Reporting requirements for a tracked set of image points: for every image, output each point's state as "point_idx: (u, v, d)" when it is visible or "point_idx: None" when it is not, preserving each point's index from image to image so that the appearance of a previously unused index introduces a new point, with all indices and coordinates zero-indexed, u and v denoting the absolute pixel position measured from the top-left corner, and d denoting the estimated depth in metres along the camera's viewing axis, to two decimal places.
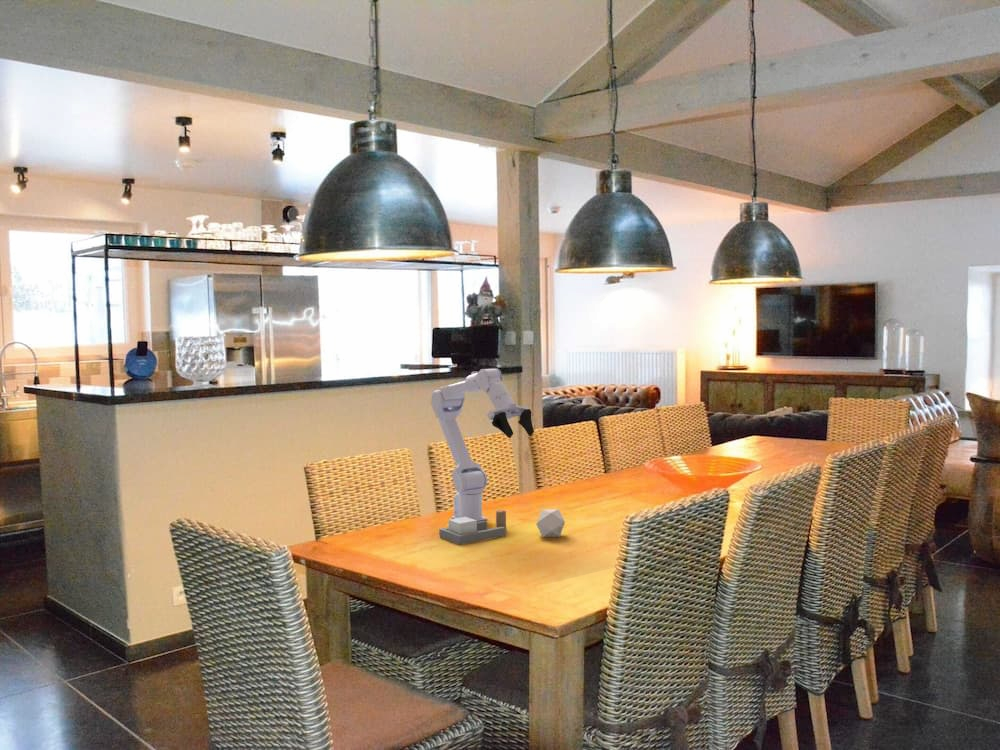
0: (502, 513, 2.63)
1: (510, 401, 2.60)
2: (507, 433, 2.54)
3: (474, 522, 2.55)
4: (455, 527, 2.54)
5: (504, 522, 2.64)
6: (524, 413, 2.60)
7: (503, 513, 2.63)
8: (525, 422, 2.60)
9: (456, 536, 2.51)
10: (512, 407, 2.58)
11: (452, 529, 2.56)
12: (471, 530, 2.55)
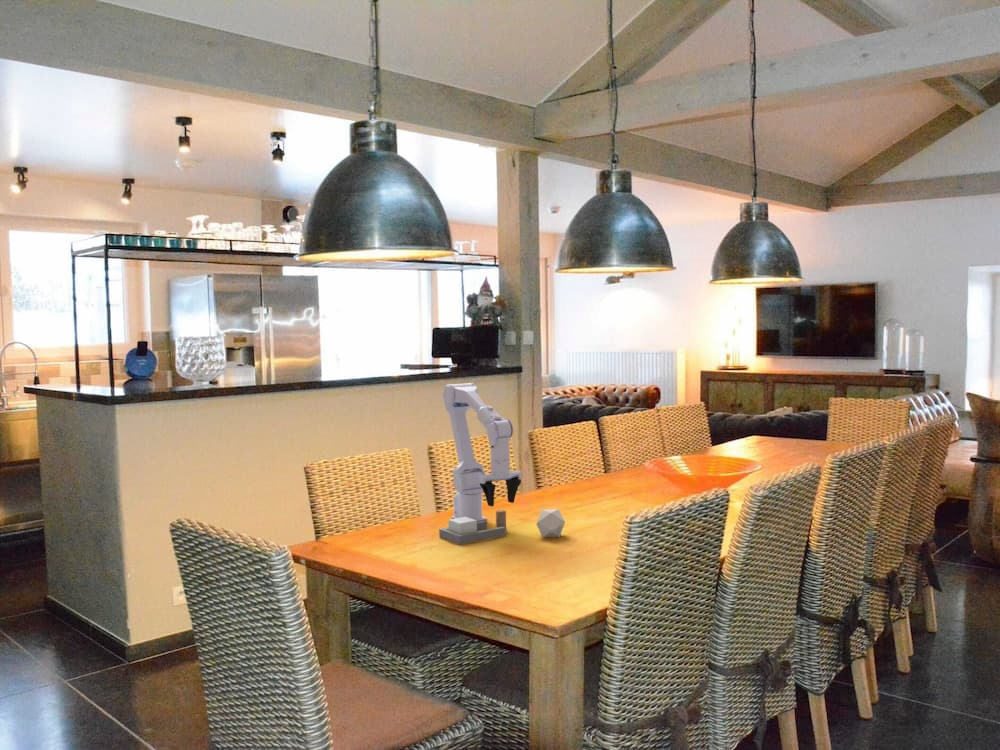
0: (502, 513, 2.63)
1: (506, 470, 2.62)
2: (488, 501, 2.62)
3: (474, 522, 2.55)
4: (455, 527, 2.54)
5: (504, 522, 2.64)
6: (513, 482, 2.65)
7: (503, 513, 2.63)
8: (510, 488, 2.66)
9: (456, 536, 2.51)
10: None
11: (452, 529, 2.56)
12: (471, 530, 2.55)
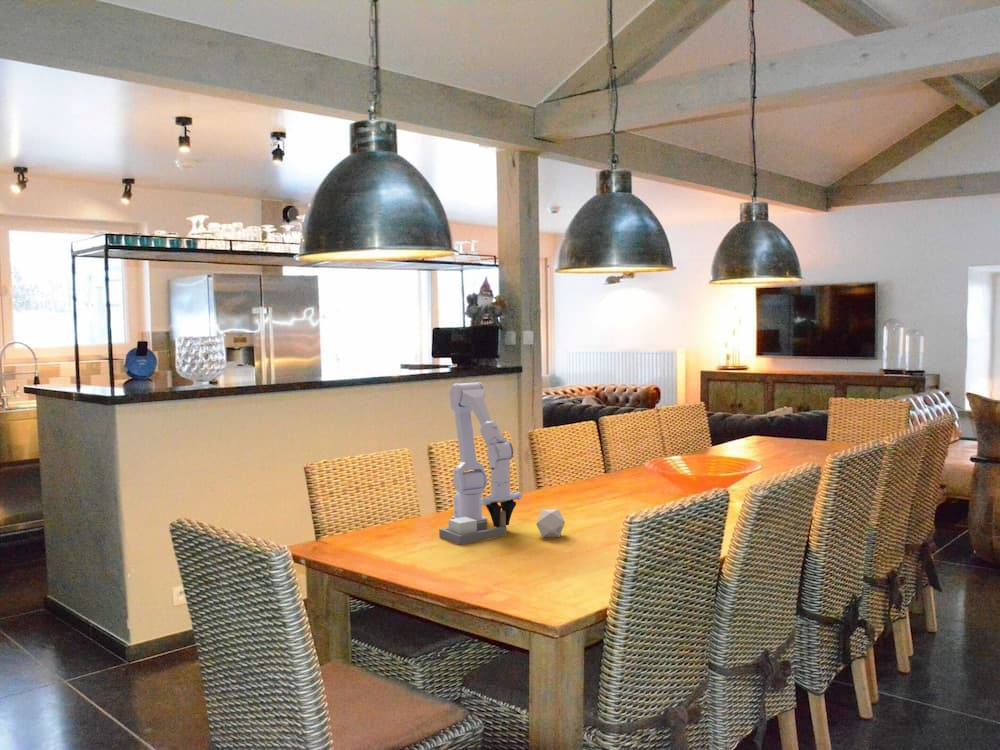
0: (502, 513, 2.63)
1: (506, 492, 2.62)
2: (494, 522, 2.64)
3: (474, 522, 2.55)
4: (455, 527, 2.54)
5: (504, 522, 2.64)
6: (508, 505, 2.64)
7: (503, 513, 2.63)
8: None
9: (456, 536, 2.51)
10: None
11: (452, 529, 2.56)
12: (471, 530, 2.55)
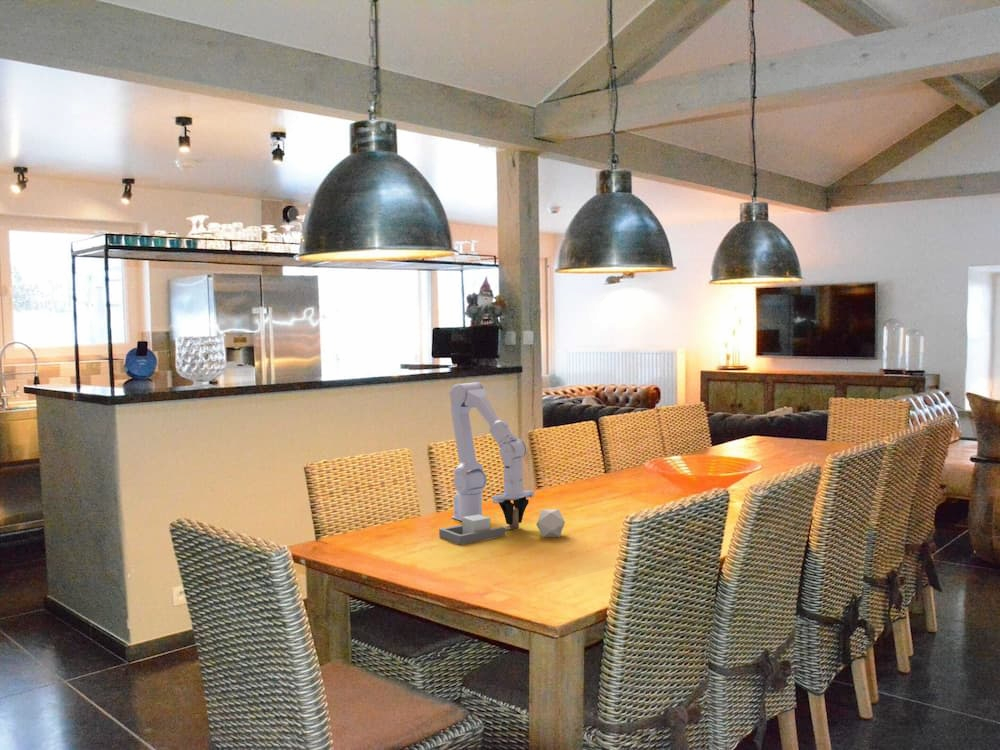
0: (515, 511, 2.66)
1: (519, 490, 2.65)
2: (507, 520, 2.67)
3: (488, 519, 2.58)
4: (469, 524, 2.57)
5: (517, 520, 2.67)
6: (521, 503, 2.67)
7: (516, 511, 2.66)
8: None
9: (456, 536, 2.51)
10: None
11: (465, 526, 2.59)
12: (485, 527, 2.58)
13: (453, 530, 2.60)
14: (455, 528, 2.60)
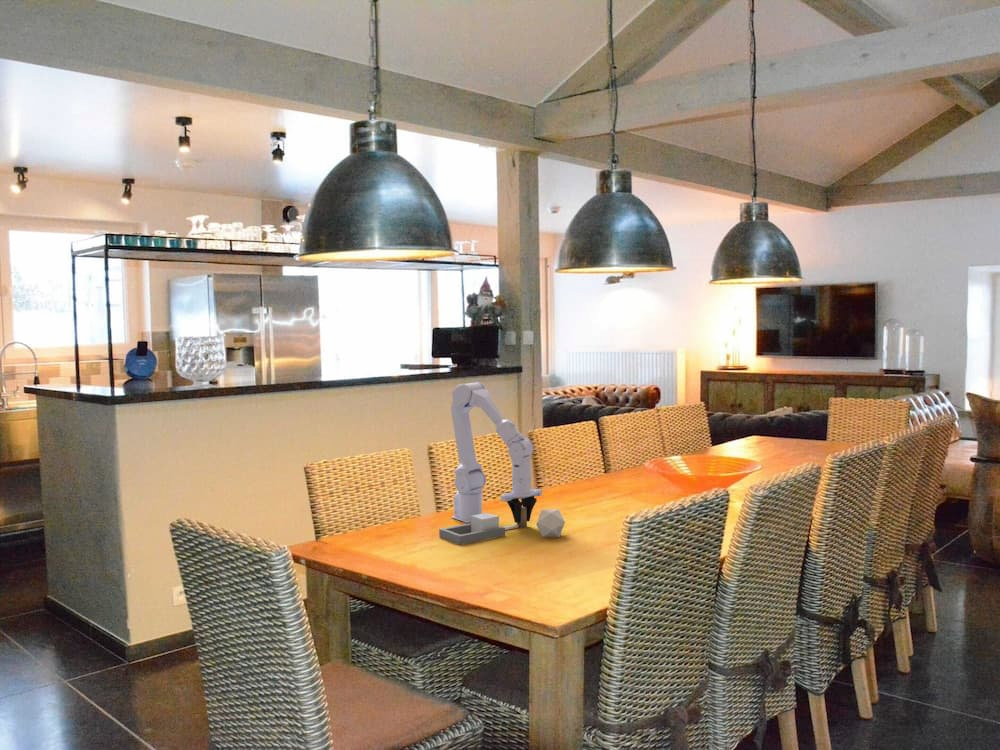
0: (523, 509, 2.68)
1: (527, 489, 2.67)
2: (515, 518, 2.68)
3: (496, 518, 2.60)
4: (478, 523, 2.59)
5: (525, 518, 2.69)
6: (529, 501, 2.69)
7: (524, 509, 2.68)
8: None
9: (456, 536, 2.51)
10: None
11: (474, 524, 2.60)
12: (493, 526, 2.60)
13: (453, 530, 2.60)
14: (455, 528, 2.60)
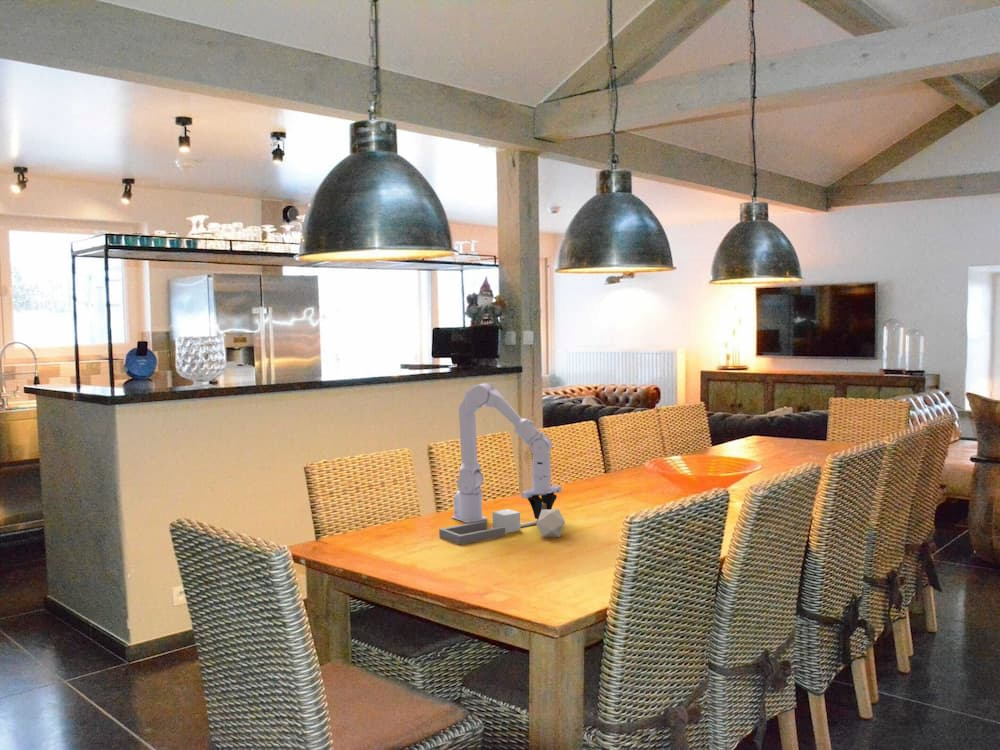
0: (543, 506, 2.73)
1: (548, 486, 2.71)
2: (535, 514, 2.73)
3: (518, 514, 2.65)
4: (499, 519, 2.64)
5: None
6: (549, 498, 2.73)
7: (544, 506, 2.73)
8: None
9: (456, 536, 2.51)
10: (546, 492, 2.72)
11: (496, 520, 2.65)
12: (515, 522, 2.64)
13: (453, 530, 2.60)
14: (455, 528, 2.60)
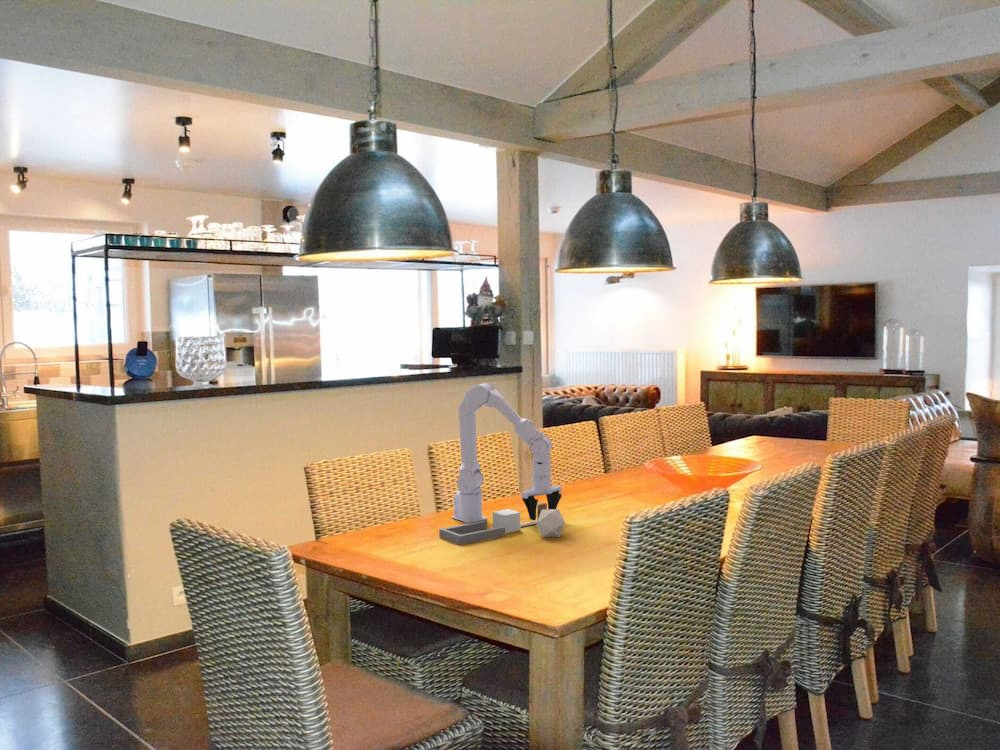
0: (543, 505, 2.73)
1: (548, 485, 2.71)
2: (530, 515, 2.72)
3: (518, 514, 2.65)
4: (499, 519, 2.64)
5: None
6: (554, 497, 2.75)
7: (544, 505, 2.73)
8: (551, 503, 2.76)
9: (456, 536, 2.51)
10: (546, 492, 2.72)
11: (496, 520, 2.65)
12: (515, 522, 2.64)
13: (453, 530, 2.60)
14: (455, 528, 2.60)
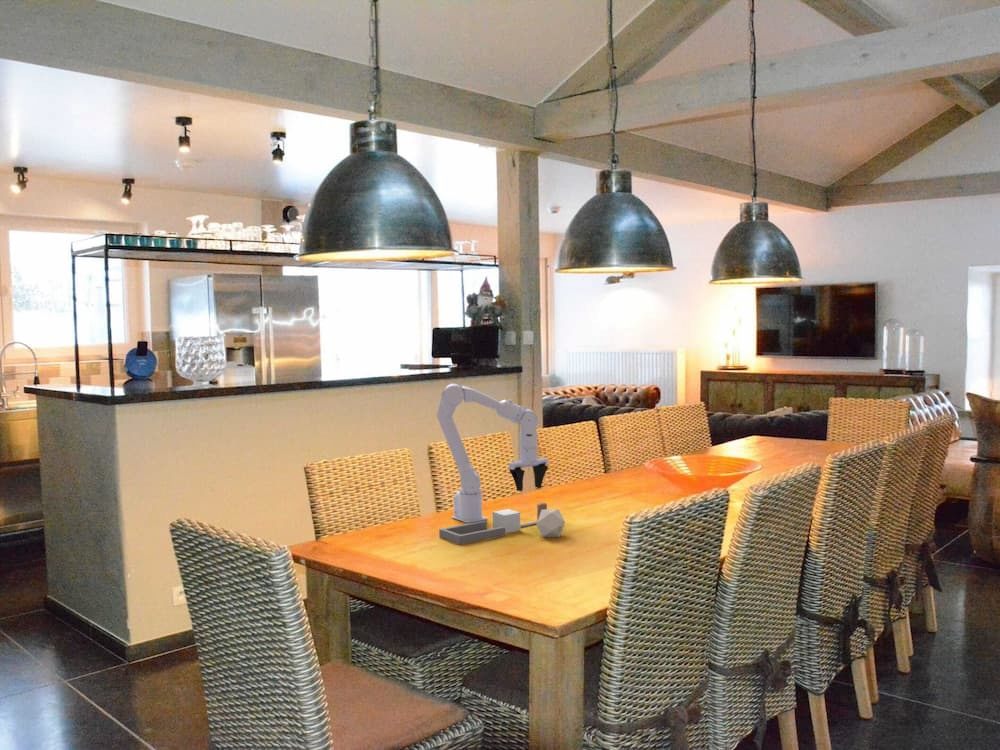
0: (543, 505, 2.73)
1: (534, 457, 2.78)
2: (517, 486, 2.78)
3: (518, 514, 2.65)
4: (499, 519, 2.64)
5: None
6: (541, 468, 2.81)
7: (544, 505, 2.73)
8: (538, 474, 2.83)
9: (456, 536, 2.51)
10: None
11: (496, 520, 2.65)
12: (515, 522, 2.64)
13: (453, 530, 2.60)
14: (455, 528, 2.60)
